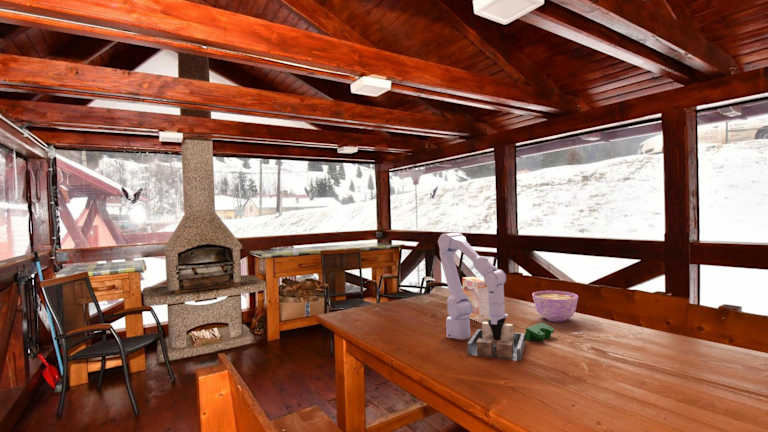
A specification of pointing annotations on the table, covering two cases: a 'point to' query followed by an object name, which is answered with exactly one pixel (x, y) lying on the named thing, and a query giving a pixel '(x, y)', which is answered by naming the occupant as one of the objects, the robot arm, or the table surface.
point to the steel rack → (517, 348)
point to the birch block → (505, 333)
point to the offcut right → (504, 349)
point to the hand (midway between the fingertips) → (497, 338)
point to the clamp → (538, 332)
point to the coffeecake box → (477, 298)
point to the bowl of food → (555, 304)
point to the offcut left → (485, 346)
